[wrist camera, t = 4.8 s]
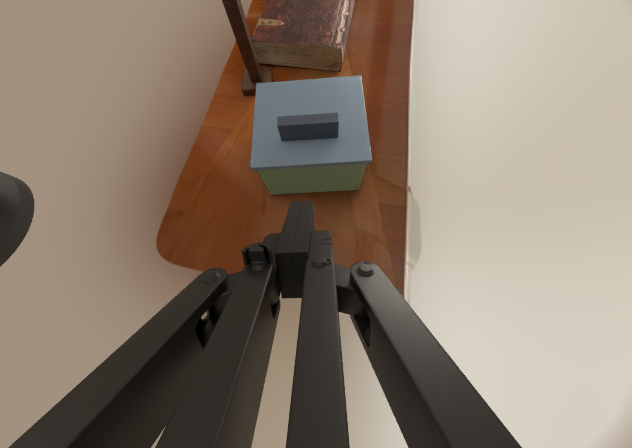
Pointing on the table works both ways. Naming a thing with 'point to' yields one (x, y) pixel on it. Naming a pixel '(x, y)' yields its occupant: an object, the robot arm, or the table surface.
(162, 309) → the robot arm
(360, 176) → the bin
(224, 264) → the table surface
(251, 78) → the stand
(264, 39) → the hardback book
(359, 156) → the lid
